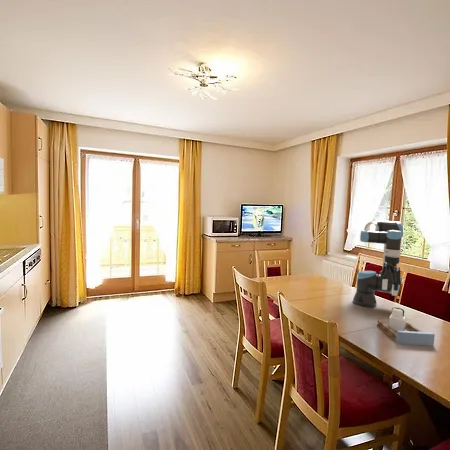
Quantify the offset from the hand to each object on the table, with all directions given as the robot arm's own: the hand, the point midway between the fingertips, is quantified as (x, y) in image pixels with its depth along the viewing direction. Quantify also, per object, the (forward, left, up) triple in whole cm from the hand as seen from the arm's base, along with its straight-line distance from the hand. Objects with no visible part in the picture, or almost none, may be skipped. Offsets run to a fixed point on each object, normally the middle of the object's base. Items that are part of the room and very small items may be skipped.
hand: (389, 292), depth 170 cm
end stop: (+28, 0, -18) cm, 33 cm away
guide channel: (+17, 0, -18) cm, 25 cm away
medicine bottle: (+11, 0, -18) cm, 21 cm away
